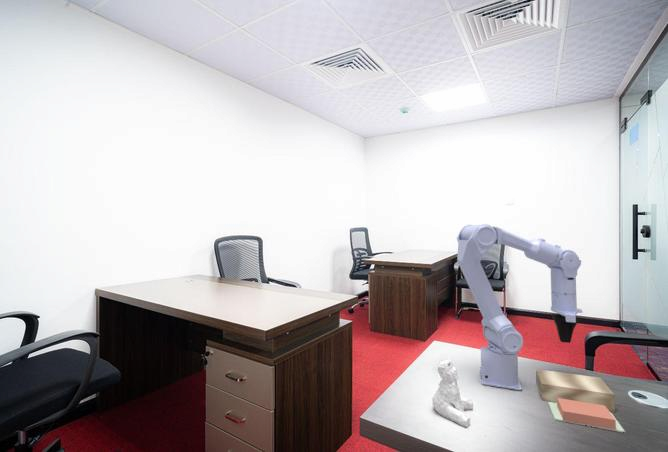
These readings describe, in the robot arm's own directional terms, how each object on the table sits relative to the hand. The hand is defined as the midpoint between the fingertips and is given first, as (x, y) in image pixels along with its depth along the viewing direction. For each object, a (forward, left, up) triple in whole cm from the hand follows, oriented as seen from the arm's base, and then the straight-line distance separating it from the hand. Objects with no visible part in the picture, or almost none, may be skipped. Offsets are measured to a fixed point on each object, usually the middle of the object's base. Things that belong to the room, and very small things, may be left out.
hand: (565, 341), depth 89 cm
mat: (-1, -20, -10) cm, 22 cm away
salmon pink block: (-1, -21, -8) cm, 22 cm away
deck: (-1, -11, -10) cm, 15 cm away
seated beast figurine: (-28, -29, -11) cm, 42 cm away
